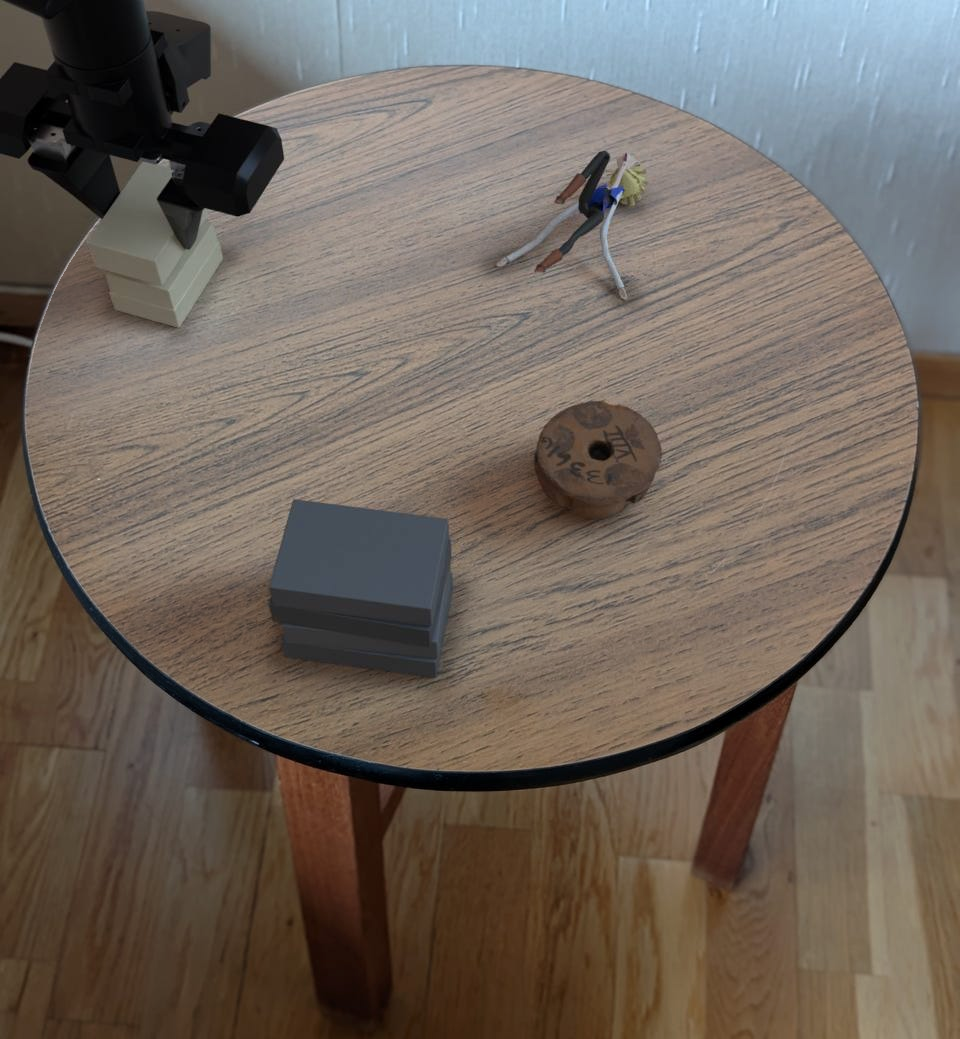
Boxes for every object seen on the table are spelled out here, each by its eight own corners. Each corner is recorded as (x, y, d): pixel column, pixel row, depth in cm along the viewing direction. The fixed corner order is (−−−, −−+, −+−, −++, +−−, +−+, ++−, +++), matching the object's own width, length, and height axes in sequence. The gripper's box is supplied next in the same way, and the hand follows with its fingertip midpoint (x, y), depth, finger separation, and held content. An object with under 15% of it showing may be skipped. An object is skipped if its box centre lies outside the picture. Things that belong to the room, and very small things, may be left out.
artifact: (613, 427, 87) (620, 378, 83) (676, 512, 83) (687, 466, 79) (510, 473, 85) (512, 425, 81) (570, 562, 81) (575, 517, 77)
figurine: (668, 269, 104) (542, 386, 90) (587, 194, 104) (448, 300, 91) (745, 176, 96) (619, 289, 83) (657, 96, 97) (517, 195, 83)
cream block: (162, 286, 88) (154, 261, 86) (94, 267, 88) (85, 242, 86) (215, 203, 92) (209, 177, 90) (150, 186, 92) (142, 159, 90)
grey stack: (280, 659, 78) (261, 590, 71) (304, 567, 81) (288, 493, 75) (437, 681, 77) (433, 613, 70) (455, 587, 80) (453, 514, 74)
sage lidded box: (179, 328, 92) (169, 292, 89) (114, 310, 93) (102, 273, 90) (223, 258, 95) (215, 221, 92) (160, 241, 96) (150, 204, 93)
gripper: (306, -10, 79) (330, 189, 92) (29, -73, 83) (90, 127, 96) (224, 108, 74) (262, 302, 87) (-69, 35, 77) (10, 232, 90)
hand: (155, 235), depth 90 cm, fingers closed on cream block, 5 cm apart
